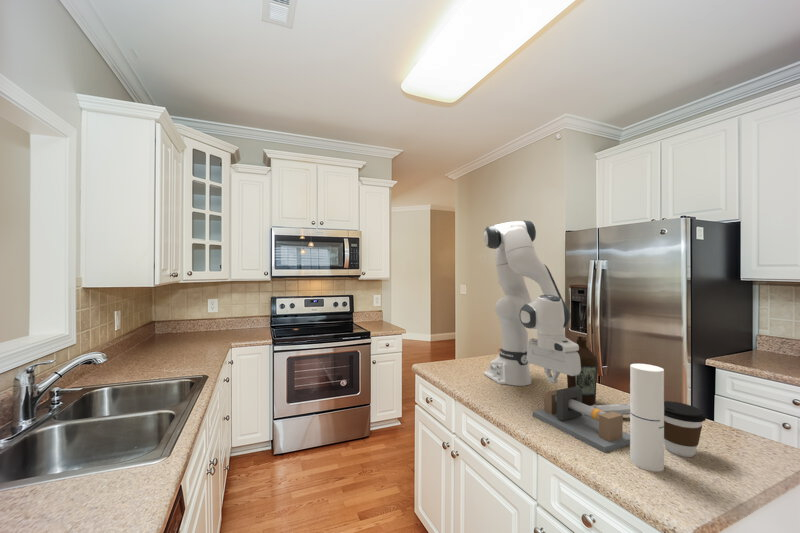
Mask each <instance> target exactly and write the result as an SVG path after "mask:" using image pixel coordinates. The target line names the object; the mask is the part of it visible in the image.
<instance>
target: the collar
mask: <svg viewBox="0 0 800 533" xmlns="http://www.w3.org/2000/svg"><path fill="white" fill-rule="evenodd" d="M556 390H557V418H558V419H560V420H562V421H563V420H567V419H571V418H575V417H579V416H582V413H580V412H577V411H575V410H573V409H570V408H568V399H573V400H576V401H578V402H581V403H582V388H579V387H576V386H575V387H570V388H568V387H565V388H560V389H556Z"/></svg>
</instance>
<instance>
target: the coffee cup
mask: <svg viewBox="0 0 800 533" xmlns="http://www.w3.org/2000/svg"><path fill="white" fill-rule="evenodd" d="M706 420H707V419H706V415H705V414H704V412H703V411H702V409H700V408H698V407H695V406H693V405H690V404H687V403H683V402H678V401H669V400H668V401H667V400H664V448H665V449H666V450H667V451H668V452H670V453H672V454H673V455H676V456H680V457H686V458H692V457H694V456H695V455H696V453H697V447H698V446H699V442H700V438H701V433H702V428H703V425H702V424H703V422H706Z"/></svg>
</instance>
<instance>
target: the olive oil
mask: <svg viewBox="0 0 800 533" xmlns="http://www.w3.org/2000/svg"><path fill="white" fill-rule="evenodd" d="M587 343H588V342H587V336H586V335H580V334H578V335H577V336H576V344H578V346H579V350H578V351H576V352H577V353H578V354H579V356H580V363H581V372H580V374H579V375H576V376H570V375H567V374H566V381H567V388H570V387H575V386H576V387H579V388H582V403H583V404H586V405H588V406H593V405H594V404H595V405H596V404H597V402H596V400H597V382H598V381H597V379H598V378H597V377H598V358H597V357H596V355H595V353H593V352H592V350H591V349H590V348H589V347H588V345H587Z"/></svg>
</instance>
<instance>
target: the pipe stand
mask: <svg viewBox="0 0 800 533" xmlns="http://www.w3.org/2000/svg"><path fill="white" fill-rule="evenodd" d="M557 390H558V389H554V390H548V391H545V392H544V408H542V409H538V410H534V411H533V410H532V417H534V418H536V419H538V420H540V421H541V422H544V423H546V424H548V425H550V426H551V427H553V428H555V429H557V430H560V431H562V432H563V433H566V434H567V435H569V436H571V437H573V438H575V439H577V440H579V441H581V442H583V443H585V444H586V445H589V446H591V447H593V448H595V449H597V450H598V451H601V452H602V453H608V452H611V451H614V450H617V449H620V448H623V447H626V446H630V433H627V432H625V431H623V423H624V422H623V416H624V415H621V414H618V413H616V412H613V411H612V412H608V413H606V412H604V411H602V410H600V409H597V408H593V407H591V406H588V405H586V404H583V403H581V402H578V401H576V400H573V399H568V408H570V409H573V410H575V411H577V412H580V413H582V416H579V417H575V418H571V419H567V420H563V421H562V420H560V419H558V418H557ZM586 415H587V416H586ZM588 416H589V417H588Z"/></svg>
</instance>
